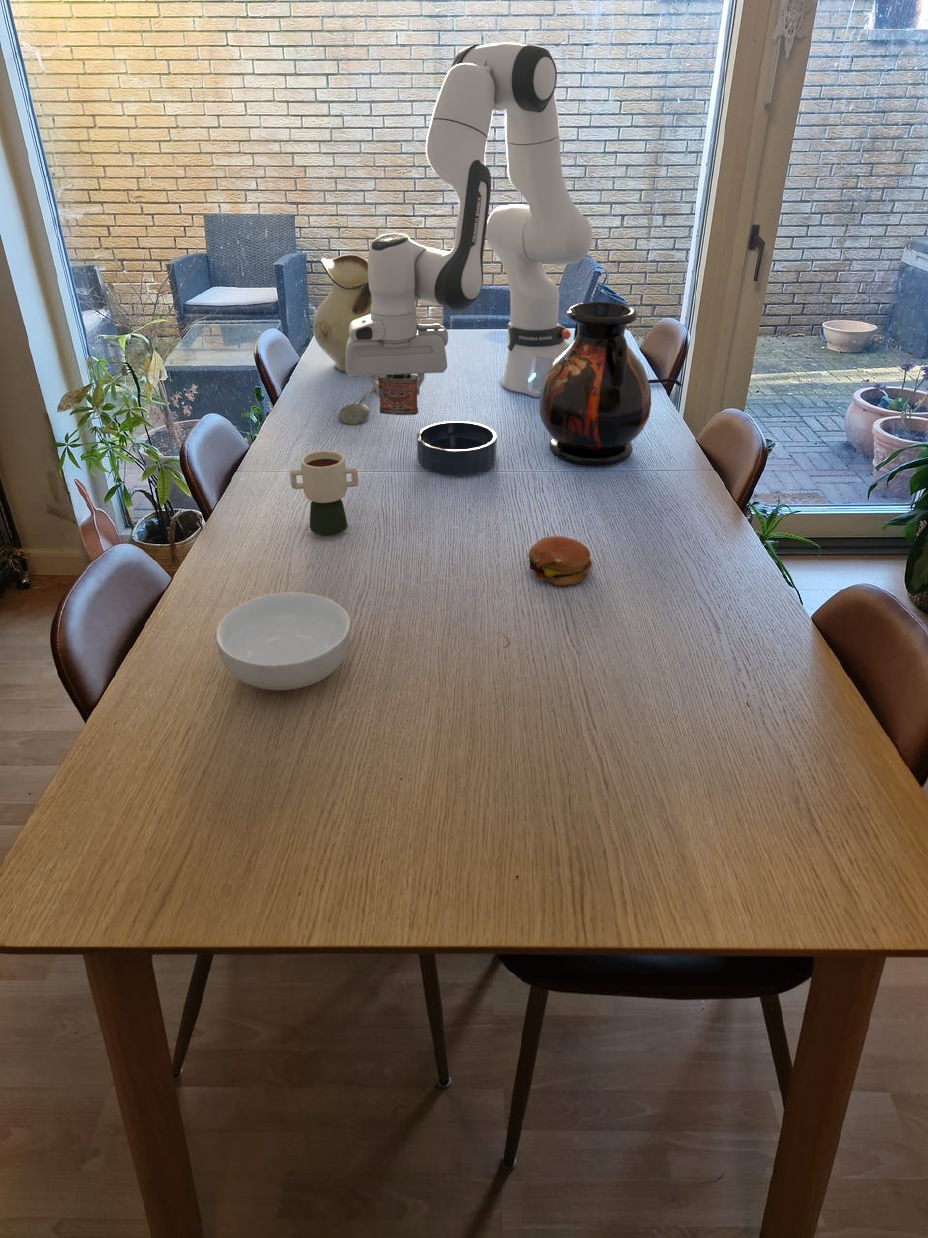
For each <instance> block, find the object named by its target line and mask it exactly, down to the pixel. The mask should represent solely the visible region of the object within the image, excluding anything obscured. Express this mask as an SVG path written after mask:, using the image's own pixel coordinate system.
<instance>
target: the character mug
mask: <svg viewBox="0 0 928 1238" xmlns="http://www.w3.org/2000/svg"><path fill="white" fill-rule="evenodd" d="M347 475H351V480H350V481H348V479H347ZM297 476H301V479H302V481H301V482H298V481H297ZM289 479H290V486H291V488H292V489H294V490H303V494H304V496H305V498H306V499H308V500H309V501H310V504H309V505H310V507H309V529H310V531H311V532H312V533H313V534H315V535H317V536H321V537H324V538H325V537H334V536H336V535H339V534H342V533H343V532H344V531H347V530H346V529H347V528H348V525H349V524H348V520H347V515H346V510H345V505H344V502H343V500H342V499H343V498H344V497H346V494H347V491H348V488H355V487H358V486H359V471H358V469H357V468H356V467H347V465H346V458H345V456H344V455H343V454H342V453H341V452H338V451H335V450H317V451H312V452H309V453H307V454H305V455H303V456H302V457H301V458H300V469H292V470H290V471H289Z"/></svg>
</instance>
